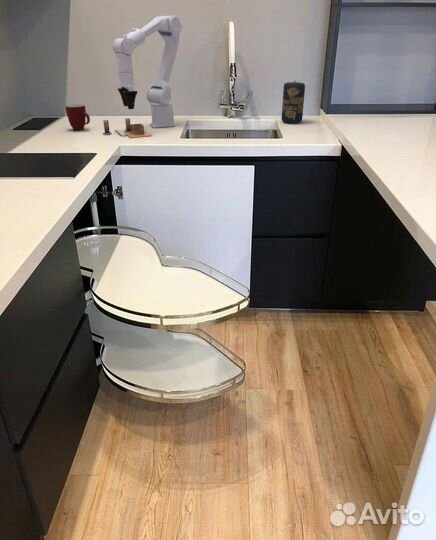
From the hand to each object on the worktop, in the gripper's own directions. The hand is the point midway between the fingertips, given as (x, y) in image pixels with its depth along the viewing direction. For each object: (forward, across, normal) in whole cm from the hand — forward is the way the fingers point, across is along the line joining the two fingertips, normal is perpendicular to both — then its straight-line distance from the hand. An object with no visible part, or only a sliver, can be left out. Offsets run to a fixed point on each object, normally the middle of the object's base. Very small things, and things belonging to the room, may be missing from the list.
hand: (128, 107), depth 189 cm
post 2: (+10, 0, -1) cm, 10 cm away
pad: (+10, +7, +1) cm, 12 cm away
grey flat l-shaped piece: (+10, +1, -4) cm, 11 cm away
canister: (+10, +10, +73) cm, 74 cm away
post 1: (+10, 0, -10) cm, 14 cm away
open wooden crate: (+9, +7, +1) cm, 12 cm away
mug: (+10, -13, -19) cm, 25 cm away
